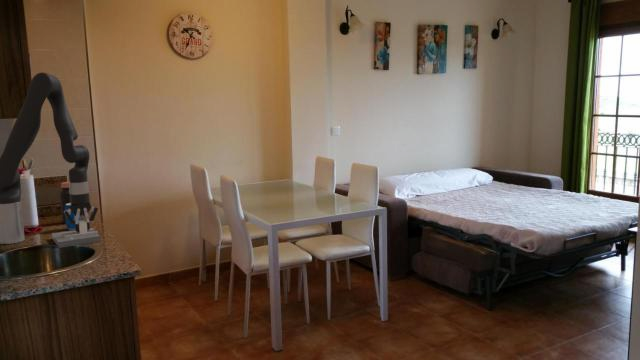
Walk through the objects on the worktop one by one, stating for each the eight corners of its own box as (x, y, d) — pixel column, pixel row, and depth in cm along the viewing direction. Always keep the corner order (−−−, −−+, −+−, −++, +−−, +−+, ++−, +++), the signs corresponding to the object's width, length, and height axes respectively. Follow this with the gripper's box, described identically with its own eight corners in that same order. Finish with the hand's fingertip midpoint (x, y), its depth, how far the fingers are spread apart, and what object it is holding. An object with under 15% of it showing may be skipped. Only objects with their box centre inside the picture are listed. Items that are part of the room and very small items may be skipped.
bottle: (59, 223, 256) (55, 183, 253) (69, 220, 262) (66, 181, 259) (70, 224, 254) (67, 183, 251) (80, 221, 260) (77, 181, 257)
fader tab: (80, 234, 222) (79, 223, 221) (78, 232, 225) (77, 221, 224) (87, 233, 224) (86, 222, 223) (85, 231, 227) (84, 220, 226)
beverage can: (84, 227, 247) (82, 202, 246) (76, 230, 241) (74, 205, 239) (71, 227, 248) (69, 202, 246) (63, 230, 242) (61, 205, 240)
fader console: (59, 247, 212) (58, 239, 212) (52, 238, 227) (51, 231, 226) (100, 241, 221) (99, 233, 221) (91, 233, 236) (90, 225, 235)
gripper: (63, 195, 215) (66, 235, 217) (98, 191, 223) (102, 230, 225) (59, 192, 221) (63, 232, 223) (94, 189, 229) (97, 227, 231)
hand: (82, 231), depth 224 cm, fingers closed on fader tab, 3 cm apart
